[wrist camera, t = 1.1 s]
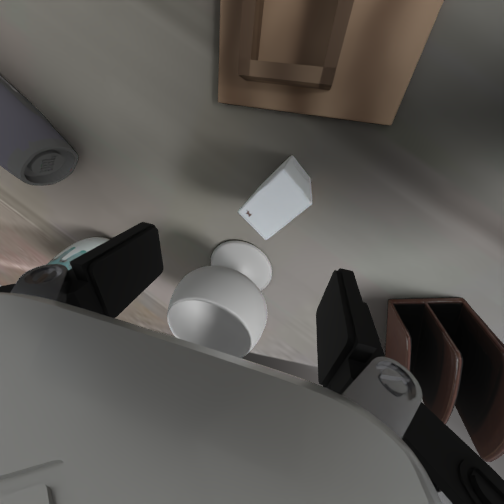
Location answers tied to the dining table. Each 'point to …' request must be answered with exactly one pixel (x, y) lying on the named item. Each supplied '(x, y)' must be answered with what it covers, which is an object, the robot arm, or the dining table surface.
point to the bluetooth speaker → (31, 141)
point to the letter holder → (452, 364)
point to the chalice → (223, 300)
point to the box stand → (322, 55)
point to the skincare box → (278, 199)
